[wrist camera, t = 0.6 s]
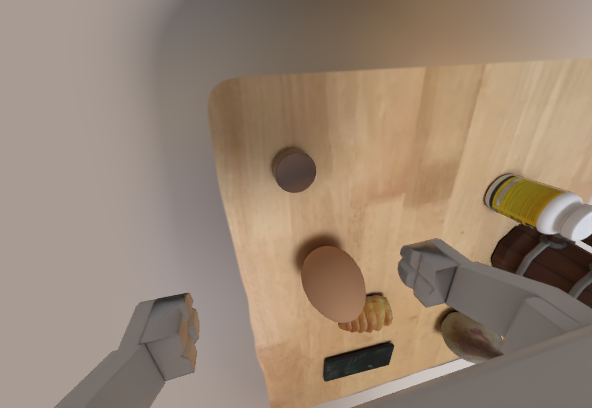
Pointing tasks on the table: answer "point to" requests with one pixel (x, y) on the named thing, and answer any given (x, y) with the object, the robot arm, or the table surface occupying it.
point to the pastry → (371, 316)
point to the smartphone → (357, 362)
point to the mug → (547, 261)
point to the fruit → (470, 338)
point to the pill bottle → (541, 206)
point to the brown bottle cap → (293, 170)
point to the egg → (334, 284)
